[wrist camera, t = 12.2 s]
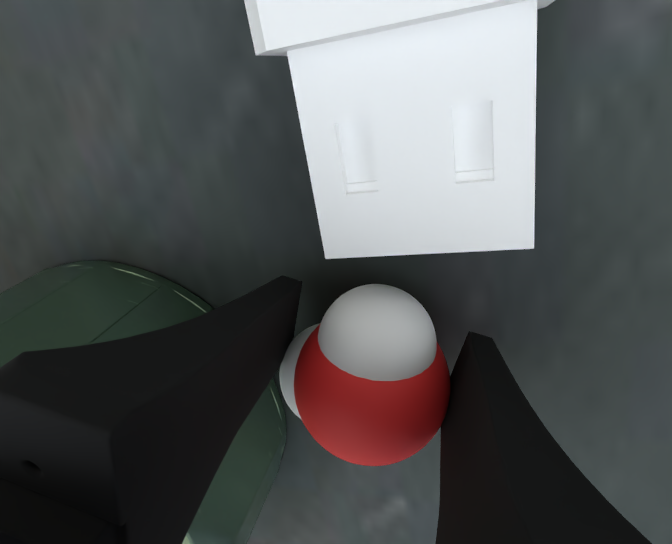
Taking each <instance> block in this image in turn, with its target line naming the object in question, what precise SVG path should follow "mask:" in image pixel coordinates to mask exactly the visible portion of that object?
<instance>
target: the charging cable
mask: <svg viewBox="0 0 672 544" xmlns="http://www.w3.org/2000/svg"><path fill="white" fill-rule="evenodd" d="M554 1H555V0H244V2H245V7H246V11H247V16H248V21H249V26H250V30H251V35H252V40H253V44H254V49H255V54H256V55H264V56H288V61H289V66H290V71H291V77H292V82H293V88H294V93H295V98H296V104H297V109H298V114H299V120H300V125H301V130H302V136H303V141H304V147H305V152H306V157H307V163H308V168H309V173H310V179H311V184H312V189H313V195H314V200H315V205H316V211H317V216H318V222H319V227H320V232H321V238H322V243H323V248H324V254H325V259H334V258H355V257H375V256H395V255H415V254H435V253H456V252H476V251H496V250H516V249H534V214H535V135H536V56H537V9H540V8H544V7H547V6H548V5H549V4H551V3H552V2H554Z"/></svg>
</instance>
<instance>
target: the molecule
mask: <svg viewBox="0 0 672 544" xmlns="http://www.w3.org/2000/svg"><path fill="white" fill-rule="evenodd" d="M279 378H280V387H281V391H282V394H283V397H284V399H285V401H286V403H287V405H288V406H289V408H290V409H291V410H292V411H293V413H294V414H295V415H296V416H298V417H299V418H300V419H301V420H302V421H303V423H304V425H305V427H306V428H307V430H308V431H309V433H310V434H311V435H312V436H313V438H314V439H315V440H316V441H317V442H318V443H319V444H320V445H321V446H322V447H323V448H325V449H326V450H327V451H329V452H330V453H331V454H333V455H334V456H336V457H339V458H341V459H343V460H345V461H348V462H351V463H354V464H359V465H364V466H382V465H388V464H392V463H397V462H399V461H402V460H404V459H406V458H409V457H410V456H412V455H413V454H415V453H417V452H418V451H419V450H421V449H422V448H423V447H424V446H425V445H426V444H427V443H428V442H429V441H430V440H431V439H432V438H433V437H434V435H435V434H436V432H437V431H438V429H439V428H440V426H441V424H442V422H443V420H444V418H445V415H446V411H447V408H448V403H449V398H450V375H449V369H448V365H447V362H446V359H445V356H444V354H443V351H442V350H441V348H440V346H439V344H438V342H437V340H436V333H435V329H434V326H433V323H432V320H431V318H430V316H429V315H428V313H427V311H426V310H425V309H424V307H423V306H422V305H421V304H420V303H419V302H418V301H417V300H416V299H415V298H414V297H413V296H411V295H410V294H408V293H407V292H405V291H403V290H401V289H399V288H396V287H393V286H389V285H384V284H368V285H363V286H359V287H356V288H354V289H351V290H349V291H347V292H346V293H344V294H342V295H341V296H340V297H339V298H337V299H336V300H335V301H334V303H333V304H332V305H331V306H330V307H329V309H328V310H327V311H326V313H325V315H324V317H323V319H322V321H321V323H319V324H315V325H313V326H311V327H308V328H307V329H305V330H303V331H302V332H301V333H299V334H298V335H297V336H296V337H295V338H294V339H293V340H292V342H291V343H290V345H289V346H288V348H287V351H286V353H285V356H284V358H283V361H282V363H281V365H280V372H279Z"/></svg>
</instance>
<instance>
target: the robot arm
mask: <svg viewBox="0 0 672 544" xmlns="http://www.w3.org/2000/svg"><path fill="white" fill-rule="evenodd" d="M301 287H302V281H299V280H295V279H292V278H289V277H285V276H280V277H278V278H276V279H274V280H273V281H271V282H269V283H267V284H265V285H263V286H261V287H259V288H258V289H256V290H254V291H252V292H250V293H248V294H246V295H244V296H242V297H240V298H238V299H236V300H234V301H232V302H230V303H228V304H226V305H223V306H221V307H219V308H217V309H214V310H212V311H210V312H208V313H205V314H203V315H200V316H198V317H195V318H193V319H190V320H187V321H184V322H181V323H178V324H175V325H172V326H169V327H166V328H162V329H158V330H155V331H151V332H147V333H143V334H139V335H135V336H131V337H127V338H122V339H117V340H112V341H107V342H101V343H95V344H89V345H82V346H75V347H66V348H57V349H47V350H38V351H25V352H22V353H21V354H19V355H18V356H16V357H15V358H13V359H12V360H10V361H9V362H8V363H6V364H5V365H3V366H2V367H1V368H0V544H182V543H183V541H184V539H185V536H186V534H187V532H188V530H189V528H190V526H191V524H192V522H193V520H194V517H195V515H196V513H197V511H198V509H199V507H200V505H201V503H202V501H203V499H204V497H205V495H206V493H207V490H208V488H209V486H210V484H211V482H212V480H213V478H214V476H215V474H216V472H217V470H218V468H219V466H220V464H221V462H222V460H223V459H224V457H225V455H226V453H227V451H228V449H229V447H230V445H231V443H232V441H233V439H234V437H235V436H236V434H237V432H238V431H239V429H240V427H241V426H242V424H243V423H244V421H245V419H246V418H247V416H248V415H249V413H250V412H251V410H252V409H253V407H254V406H255V404H256V403H257V401H258V400H259V398H260V396H261V395H262V393H263V392H264V390H265V389H266V387H267V386H268V384H269V383H270V381H271V379H272V378H273V376H274V375H275V373H276V372H277V370H278V368H279V367H280V365H281V363H282V361H283V358H284V356H285V353H286V351H287V348H288V346H289V345H290V343H291V342H292V340H293V337H294V330H295V324H296V318H297V312H298V305H299V299H300V293H301ZM436 544H652V543H651V542H650V541H649V540H648V539H646V538H645V537H644V536H643V535H642V534H641V533H640V532H639V531H638V530H637V529H636V528H635V527H634V526H633V525H632V524H631V523H629V522H628V521H627V520H626V519H625V518H624V517H623V516H622V515H621V514H620V513H619V512H618V511H617V510H616V509H615V508H614V507H613V506H612V505H611V504H610V503H609V502H608V501H607V500H606V499H605V498H604V496H603V495H602V494H601V493H600V492H599V491H598V490H597V489H596V488H595V487H594V486H593V485H592V484H591V482H590V481H589V480H588V479H587V478H586V477H585V476H584V475H583V474H582V473H581V471H580V470H579V469H578V468H577V467H576V466H575V464H574V463H573V462H572V461H571V460H570V458H569V457H568V456H567V455H566V453H565V452H564V451H563V450H562V448H561V447H560V446H559V445H558V443H557V442H556V441H555V440H554V438H553V437H552V436H551V434H550V433H549V432H548V430H547V429H546V428H545V426H544V425H543V423H542V422H541V420H540V419H539V417H538V416H537V414H536V413H535V412H534V410H533V409H532V407H531V406H530V404H529V402H528V401H527V399H526V398H525V396H524V394H523V393H522V391H521V389H520V388H519V386H518V384H517V383H516V381H515V379H514V378H513V376H512V374H511V372H510V370H509V368H508V367H507V365H506V363H505V361H504V359H503V357H502V356H501V354H500V352H499V350H498V348H497V346H496V344H495V343H494V341H493V339H492V338H490V337H487V336H483V335H480V334H477V333H473V332H470V331H469V332H468V335H467V337H466V340H465V342H464V344H463V347H462V349H461V352H460V354H459V357H458V359H457V361H456V364H455V366H454V369H453V371H452V373H451V376H450V398H449V403H448V408H447V411H446V415H445V418H444V420H443V422H442V424H441V461H440V507H439V519H438V528H437V537H436Z"/></svg>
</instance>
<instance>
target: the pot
mask: <svg viewBox="0 0 672 544" xmlns="http://www.w3.org/2000/svg"><path fill="white" fill-rule="evenodd" d="M212 310H214V308H212V307H211V306H210V305H209V304H207V303H206V302H205V301H203V300H202V299H201V298H199V297H198V296H196V295H194V294H193V293H191V292H189V291H188V290H186V289H185V288H183V287H181V286H180V285H178V284H176V283H174V282H172V281H170V280H168V279H165V278H163V277H161V276H159V275H157V274H154V273H151V272H148V271H146V270H143V269H140V268H137V267H133V266H129V265H125V264H121V263H115V262H107V261H78V262H73V263H67V264H63V265H61V266H58V267H55V268H47V269H45V270H43V271H41V272H39V273H37V274H36V275H34V276H32V277H30V278H28V279H26V280H25V281H23V282H21V283H19V284H17V285H15V286H14V287H12V288H10V289H8V290H6V291H5V292H3V293H1V294H0V368H1V367H2V366H3V365H5V364H6V363H8V362H9V361H10V360H12V359H13V358H15V357H16V356H18V355H19V354H21V353H22V352H25V351H38V350H47V349H57V348H66V347H75V346H82V345H89V344H95V343H101V342H107V341H112V340H117V339H122V338H127V337H131V336H135V335H139V334H143V333H147V332H151V331H155V330H158V329H162V328H166V327H169V326H172V325H175V324H178V323H181V322H184V321H187V320H190V319H193V318H195V317H198V316H200V315H203V314H205V313H208V312H210V311H212ZM286 432H287V428H286V418H285V411H284V408H283V404H282V400H281V397H280V394H279V392H278V389H277V387H276V384H275V382H274V380H273V378H272V379H271V381H270V383H269V384H268V386H267V387H266V389H265V390H264V392H263V393H262V395H261V396H260V398H259V400H258V401H257V403H256V404H255V406H254V407H253V409H252V410H251V412H250V413H249V415H248V416H247V418H246V419H245V421H244V423H243V424H242V426H241V427H240V429H239V431H238V432H237V434H236V436H235V437H234V439H233V441H232V443H231V445H230V447H229V449H228V451H227V453H226V455H225V457H224V459H223V460H222V462H221V464H220V466H219V468H218V470H217V472H216V474H215V476H214V478H213V480H212V482H211V484H210V486H209V488H208V490H207V493H206V495H205V497H204V499H203V501H202V503H201V505H200V507H199V509H198V511H197V513H196V515H195V517H194V520H193V522H192V524H191V526H190V528H189V530H188V532H187V534H186V536H185V539H184V541H183V543H182V544H247V541H248V539H249V537H250V535H251V532H252V530H253V528H254V525H255V523H256V521H257V519H258V516H259V514H260V512H261V510H262V507H263V505H264V503H265V500H266V498H267V496H268V494H269V491H270V489H271V487H272V485H273V482H274V480H275V478H276V476H277V473H278V471H279V465H280V460H281V458H282V455H283V451H284V448H285V444H286Z"/></svg>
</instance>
